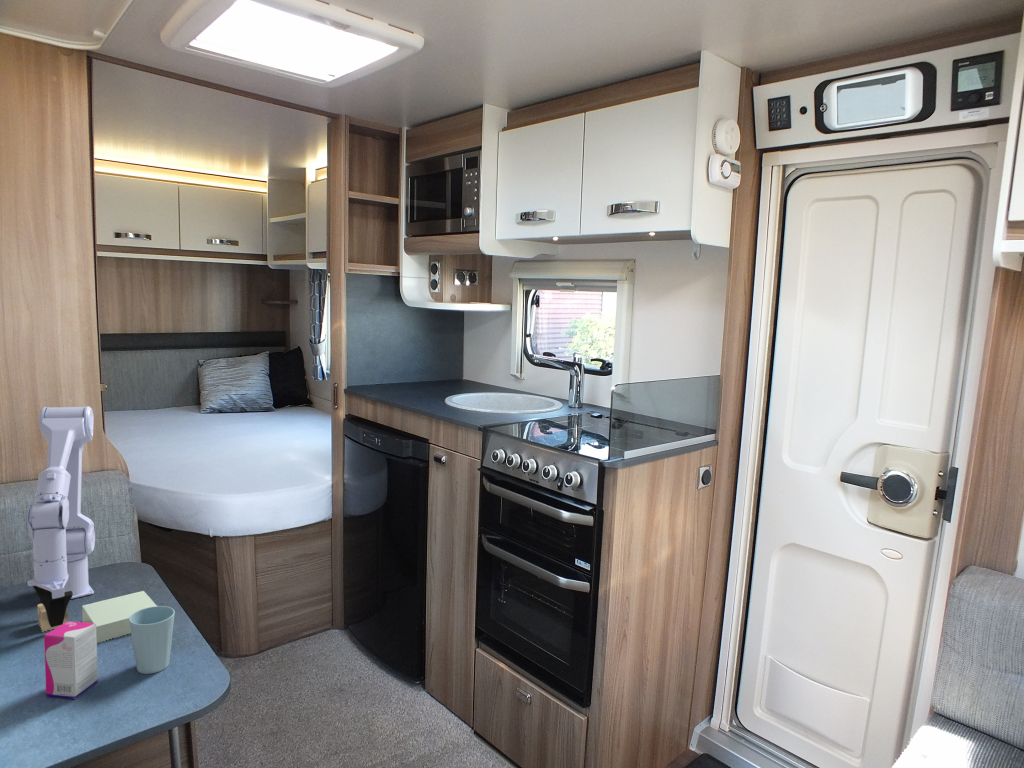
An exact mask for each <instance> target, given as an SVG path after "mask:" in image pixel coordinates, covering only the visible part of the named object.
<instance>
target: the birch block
mask: <svg viewBox="0 0 1024 768" xmlns="http://www.w3.org/2000/svg"><path fill="white" fill-rule="evenodd" d="M36 607H37V624H39V625H38V627H39V626H40V627H39V629H40V628H41V629H40V631H41V630H42V631H41V633H45V632H44V631H46V632H48V631H47V630H50V629H54V628H57V627H59V626H61V625H59V626H55V627H51V626H50V624H49V621H48V617H47V613H46V610H45V607H44V605H43V604H40V603H39V604H37V605H36ZM67 621H69V620H68V607H67V608H66V612H65V617H64V621H63V624H64V623H65V622H67ZM50 631H51V630H50Z"/></svg>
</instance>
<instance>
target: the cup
mask: <svg viewBox="0 0 1024 768" xmlns="http://www.w3.org/2000/svg"><path fill="white" fill-rule="evenodd" d="M175 614H176V611H175V610H174V608H172V607H170V606H165V605H157V606H154V607H148V608H144V609H141V610H139V611H137V612H135V613H133V614H132V615H131V616H130V617H129V623H130V630H131V634H130V635H131V640H132V647H133V653H134V659H135V665H136V671H137V672H138V673H140V674H143V675H144V674H145V675H151V674H156V673H159V672H162V671H164V670H165V669H167V667H169V665H170V658H171V651H172V643H173V642H172V640H173V631H174V623H175Z"/></svg>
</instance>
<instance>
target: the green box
mask: <svg viewBox="0 0 1024 768" xmlns="http://www.w3.org/2000/svg"><path fill="white" fill-rule="evenodd" d="M154 606H158V605H157V604H156V603H155V602H154V600H153V599H152V598H151V597H150V596H149V595H148V594H147V593H146V592H145V590H141V591H137V592H133V593H129V594H125V595H120V596H117V597H112V598H108V599H104V600H99V601H96V602H92V603H87V604H83V605H81V610H82V611H81V612H82V622H84V623H96V640H97V644H99V643H98V642H100V643H104V642H107V641H110V640H109V639H111V640H113V639H112V638H114V639H116V638H115V637H118V638H120V637H119V636H122V635H125V636H127V635H126V634H129V633H131V630H130V623H129V617H130V616H131V615H132V614H133V613H135V612H137V611H139V610H141V609H144V608H148V607H154ZM129 635H130V634H129ZM122 637H123V636H122ZM106 640H107V641H106ZM103 641H104V642H103Z"/></svg>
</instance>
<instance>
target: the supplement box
mask: <svg viewBox="0 0 1024 768" xmlns="http://www.w3.org/2000/svg"><path fill="white" fill-rule="evenodd" d="M43 639H44V640H43V644H44V645H43V646H44V669H45V670H44V671H45V673H44V675H45V696H46V698H47V697H48V698H56V699H57V698H59V699H69V700H77V699H78V698H79V697H81V696H82V695H83V694H84V693H86V692H87V691H89V690H90V689H91V688H92V687H93V686H95V685H96V684H97V683H98V682H99V680H98V679H99V677H98V676H99V675H98V674H99V673H98V645H97V644H98V643H97V640H96V623H84V622H83V621H82V622H81V621H73V620H72V621H69V620H68V621H67V622H65V623H64V624H62V625H61V626H59V627H57V628H56V629H54V630H50V631H48V632H47V633H46V634H44V635H43Z"/></svg>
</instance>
